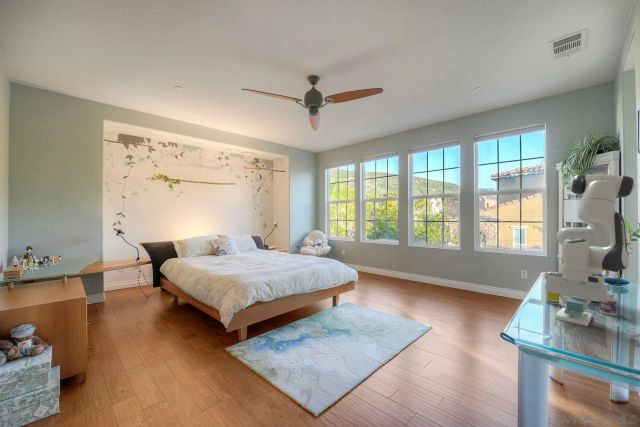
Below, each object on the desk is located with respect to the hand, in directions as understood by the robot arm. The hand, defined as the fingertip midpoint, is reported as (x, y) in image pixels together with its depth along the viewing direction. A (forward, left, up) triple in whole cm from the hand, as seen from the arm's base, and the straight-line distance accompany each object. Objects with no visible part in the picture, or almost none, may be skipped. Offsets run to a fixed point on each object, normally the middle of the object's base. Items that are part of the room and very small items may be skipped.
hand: (574, 306), depth 118 cm
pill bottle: (-20, +9, -5) cm, 23 cm away
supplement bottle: (-19, -11, -5) cm, 23 cm away
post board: (0, 0, -5) cm, 5 cm away
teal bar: (0, 0, -2) cm, 2 cm away
